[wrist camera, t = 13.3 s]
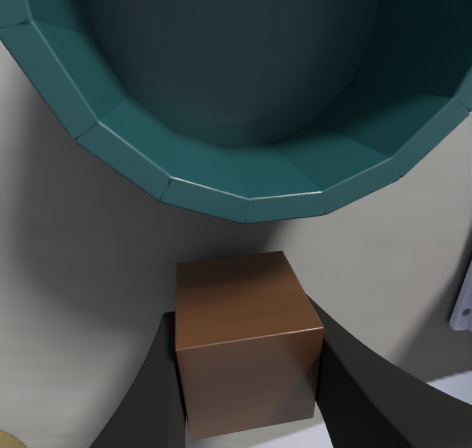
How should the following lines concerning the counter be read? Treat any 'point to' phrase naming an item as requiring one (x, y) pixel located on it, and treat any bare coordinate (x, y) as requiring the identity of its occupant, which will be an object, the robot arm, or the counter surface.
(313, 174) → the tin
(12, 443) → the cork
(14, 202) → the counter surface
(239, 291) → the block
